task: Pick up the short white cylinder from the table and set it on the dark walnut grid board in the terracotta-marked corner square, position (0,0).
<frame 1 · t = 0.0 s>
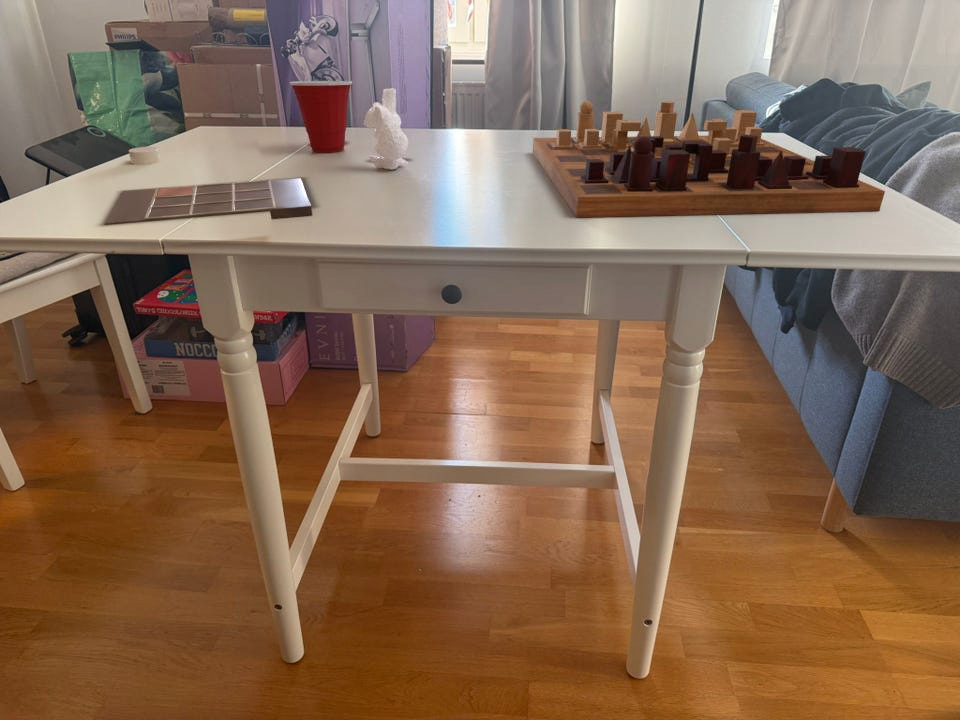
white upright figurine: (390, 168, 111), on the table
gameboard: (678, 178, 104), on the table
short white cylinder: (147, 168, 110), on the table
plastic cup: (328, 150, 123), on the table
board: (215, 207, 90), on the table
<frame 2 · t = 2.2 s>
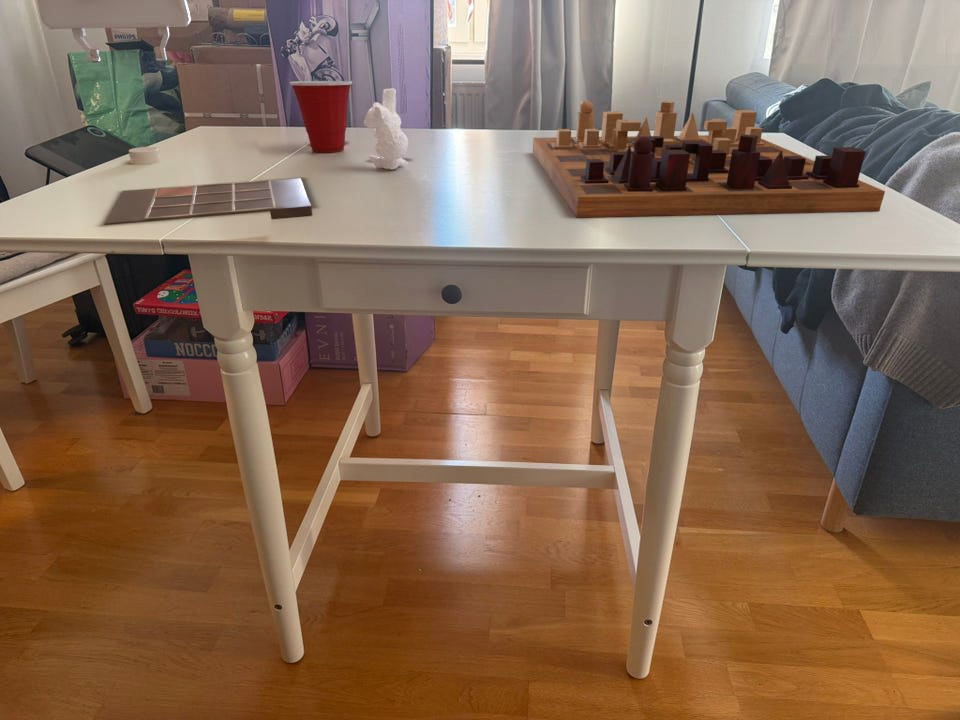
hand: (128, 61, 104), 16 cm above the table, tool pointing down, fingers open, 8 cm apart
nothing on the table moved.
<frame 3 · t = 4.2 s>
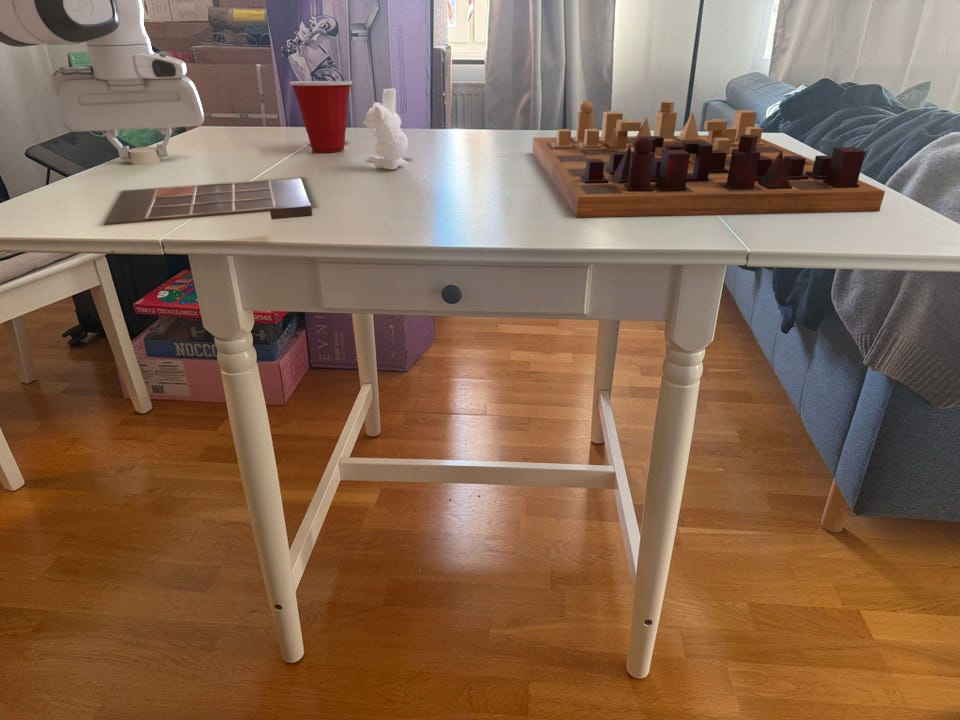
hand: (145, 157, 109), 2 cm above the table, tool pointing down, fingers closed on short white cylinder, 4 cm apart
short white cylinder: (147, 168, 110), on the table, touching gripper
everything else where it was.
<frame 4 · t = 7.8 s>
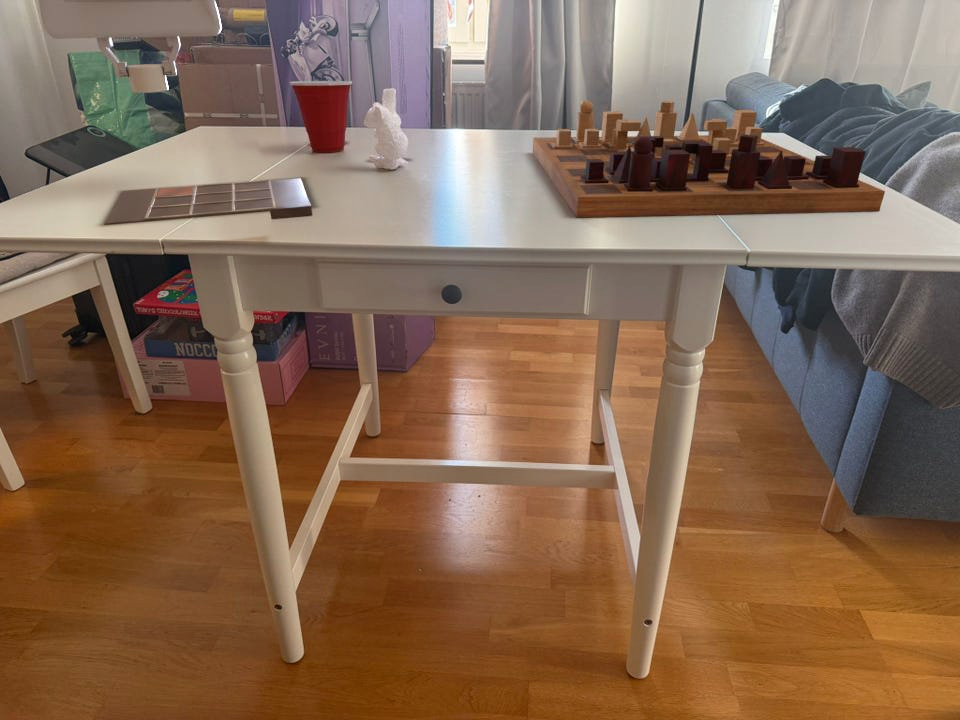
hand: (147, 76, 87), 16 cm above the table, tool pointing down, fingers closed on short white cylinder, 4 cm apart
short white cylinder: (150, 90, 88), point 14 cm above the table, touching gripper
everything else where it was.
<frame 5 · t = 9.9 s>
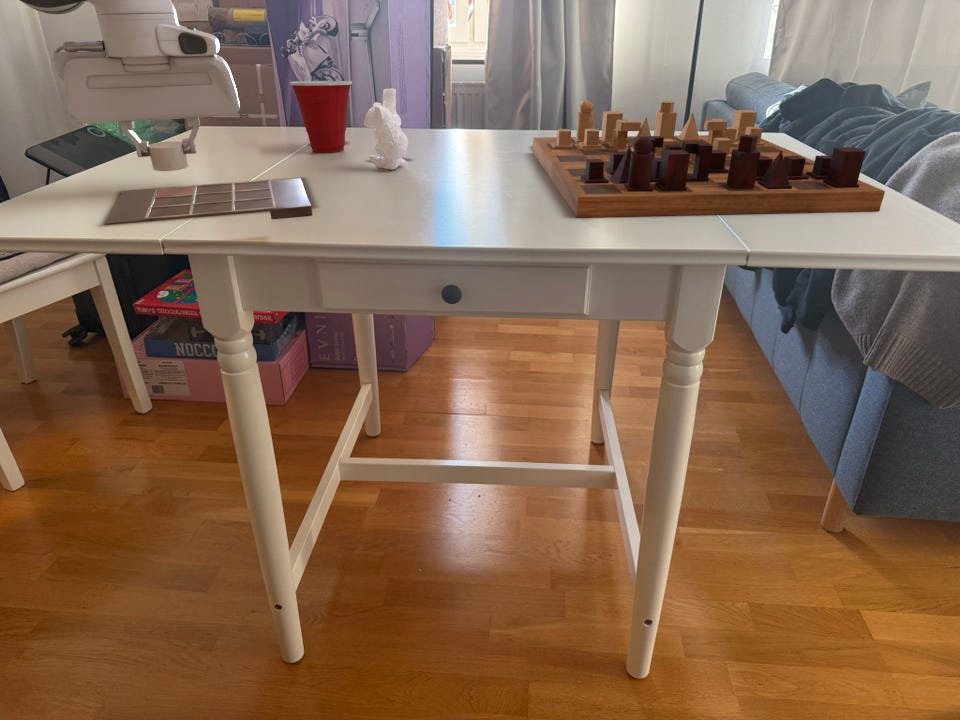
hand: (168, 154, 90), 6 cm above the table, tool pointing down, fingers closed on short white cylinder, 4 cm apart
short white cylinder: (170, 167, 90), point 5 cm above the table, touching gripper
everything else where it was.
when the fingers open (3 cm above the table, at t = 11.2 s): short white cylinder stays where it is, resting on board.
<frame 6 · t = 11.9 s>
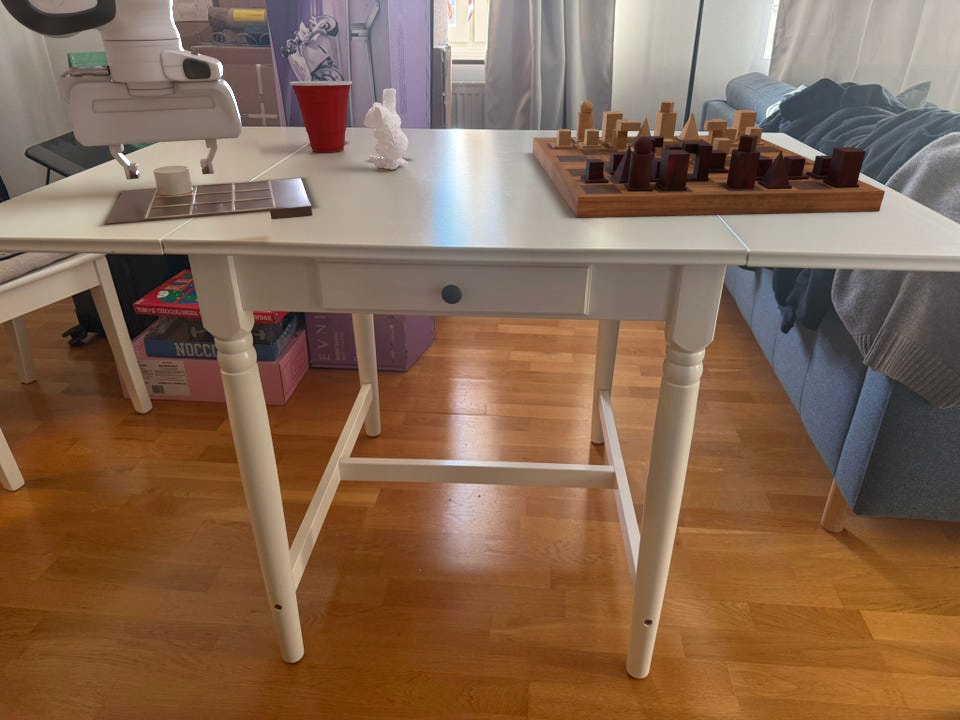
hand: (171, 175, 91), 3 cm above the table, tool pointing down, fingers open, 8 cm apart
short white cylinder: (175, 191, 92), point 1 cm above the table, touching board
everything else where it was.
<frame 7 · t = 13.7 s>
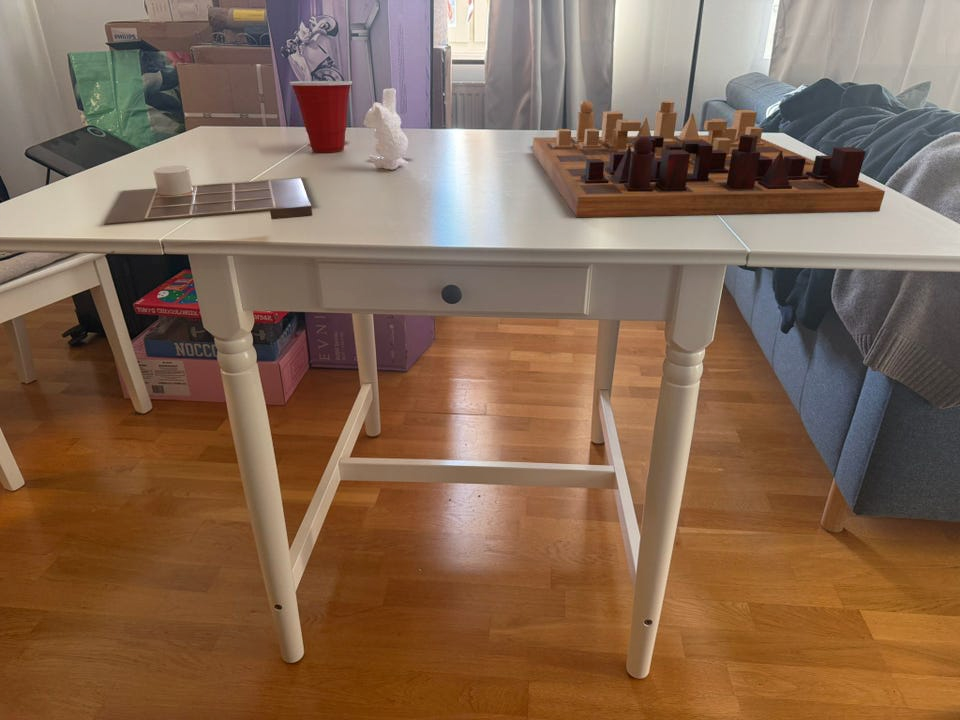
nothing on the table moved.
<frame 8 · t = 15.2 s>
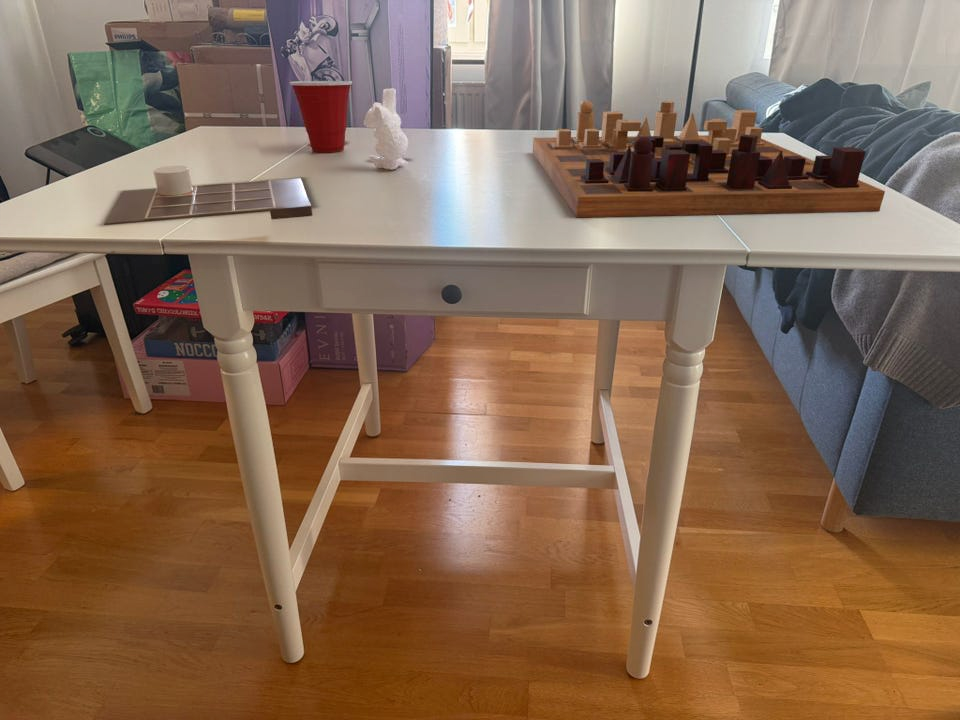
nothing on the table moved.
at the end: short white cylinder 0.1 cm from the target spot on the board, point 1.3 cm above the board's base; short white cylinder tilted 0°; the gripper is holding nothing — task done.
